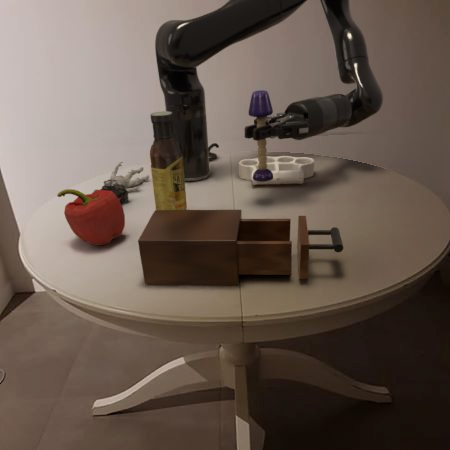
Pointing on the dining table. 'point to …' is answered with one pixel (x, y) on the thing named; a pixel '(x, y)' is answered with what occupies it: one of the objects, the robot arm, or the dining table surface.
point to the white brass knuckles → (279, 169)
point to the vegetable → (95, 216)
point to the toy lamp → (260, 110)
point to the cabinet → (191, 247)
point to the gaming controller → (117, 191)
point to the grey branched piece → (126, 178)
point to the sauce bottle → (166, 165)
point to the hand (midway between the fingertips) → (250, 133)
